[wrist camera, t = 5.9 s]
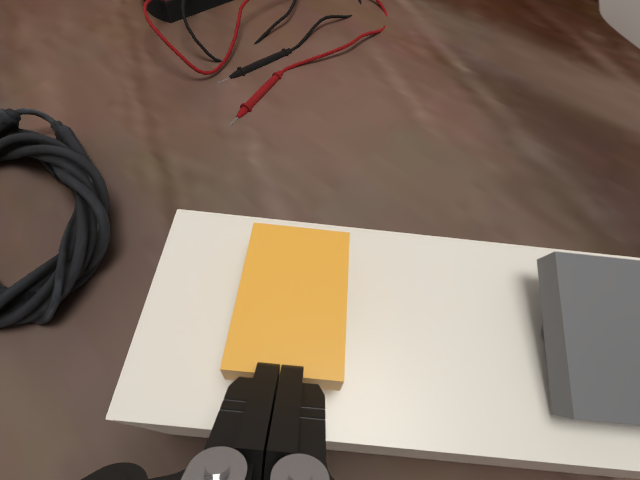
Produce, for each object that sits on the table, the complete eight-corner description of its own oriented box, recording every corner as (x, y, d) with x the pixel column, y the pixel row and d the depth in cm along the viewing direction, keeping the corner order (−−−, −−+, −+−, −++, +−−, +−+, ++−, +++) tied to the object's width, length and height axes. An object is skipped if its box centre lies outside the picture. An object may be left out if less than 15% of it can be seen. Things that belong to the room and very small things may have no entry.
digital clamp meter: (86, -39, 37) (287, -92, 46) (106, 9, 40) (287, -49, 50) (220, 86, 28) (432, -9, 38) (229, 131, 32) (419, 35, 42)
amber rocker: (344, 254, 17) (349, 232, 16) (338, 394, 13) (343, 381, 12) (256, 245, 17) (253, 222, 15) (226, 383, 13) (219, 369, 12)
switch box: (568, 311, 25) (673, 254, 18) (613, 477, 20) (780, 485, 13) (210, 274, 25) (179, 202, 18) (169, 434, 20) (105, 419, 13)
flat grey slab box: (620, 272, 16) (654, 262, 15) (645, 423, 14) (689, 430, 13) (529, 262, 16) (554, 251, 15) (543, 413, 14) (573, 418, 13)
